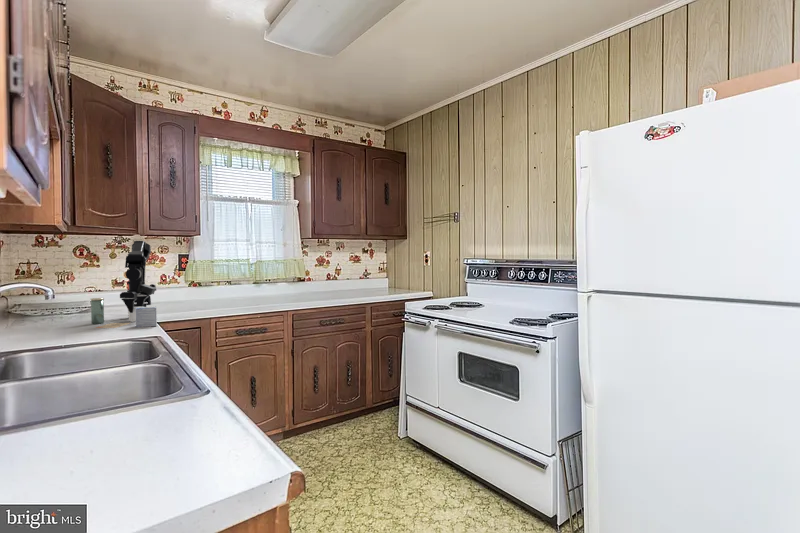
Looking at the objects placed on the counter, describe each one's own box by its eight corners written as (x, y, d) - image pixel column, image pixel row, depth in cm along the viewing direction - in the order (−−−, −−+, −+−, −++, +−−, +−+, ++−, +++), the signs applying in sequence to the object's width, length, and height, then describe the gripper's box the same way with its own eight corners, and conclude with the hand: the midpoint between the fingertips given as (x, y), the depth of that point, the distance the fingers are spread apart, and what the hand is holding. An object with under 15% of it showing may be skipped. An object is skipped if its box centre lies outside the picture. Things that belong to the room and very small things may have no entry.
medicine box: (156, 325, 195) (156, 306, 195) (156, 326, 191) (156, 307, 191) (136, 326, 192) (136, 307, 191) (135, 327, 188) (135, 308, 188)
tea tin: (95, 323, 200) (94, 298, 199) (106, 323, 200) (106, 297, 200) (88, 325, 195) (88, 298, 194) (100, 324, 195) (99, 298, 195)
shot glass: (141, 319, 212) (141, 305, 212) (146, 321, 208) (146, 306, 207) (125, 321, 207) (125, 307, 207) (130, 322, 202) (130, 308, 202)
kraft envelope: (110, 323, 198) (110, 323, 198) (131, 323, 199) (131, 322, 199) (93, 328, 184) (93, 327, 184) (115, 328, 186) (115, 327, 186)
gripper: (144, 280, 199) (145, 313, 199) (161, 278, 217) (161, 309, 218) (119, 280, 197) (119, 314, 197) (137, 278, 216) (138, 309, 216)
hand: (136, 311), depth 207 cm, fingers open, 9 cm apart
